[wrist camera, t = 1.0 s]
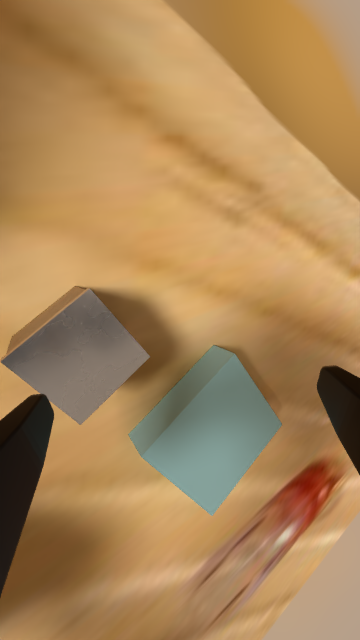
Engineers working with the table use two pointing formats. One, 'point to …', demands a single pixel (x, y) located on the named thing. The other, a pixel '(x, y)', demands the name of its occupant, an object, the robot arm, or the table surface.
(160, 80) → the table surface
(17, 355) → the tin
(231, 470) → the teal box
